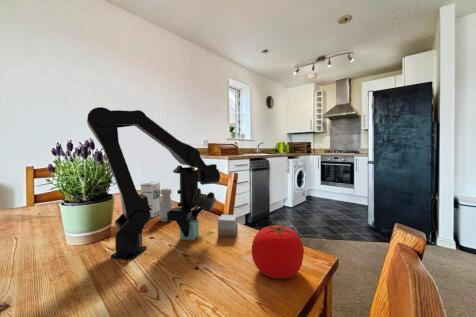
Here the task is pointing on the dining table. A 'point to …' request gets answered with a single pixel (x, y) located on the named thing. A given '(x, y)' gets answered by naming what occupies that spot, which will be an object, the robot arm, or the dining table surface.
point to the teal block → (191, 231)
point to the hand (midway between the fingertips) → (189, 233)
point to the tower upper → (227, 222)
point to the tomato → (277, 251)
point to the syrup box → (152, 196)
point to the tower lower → (227, 233)
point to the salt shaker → (165, 204)
